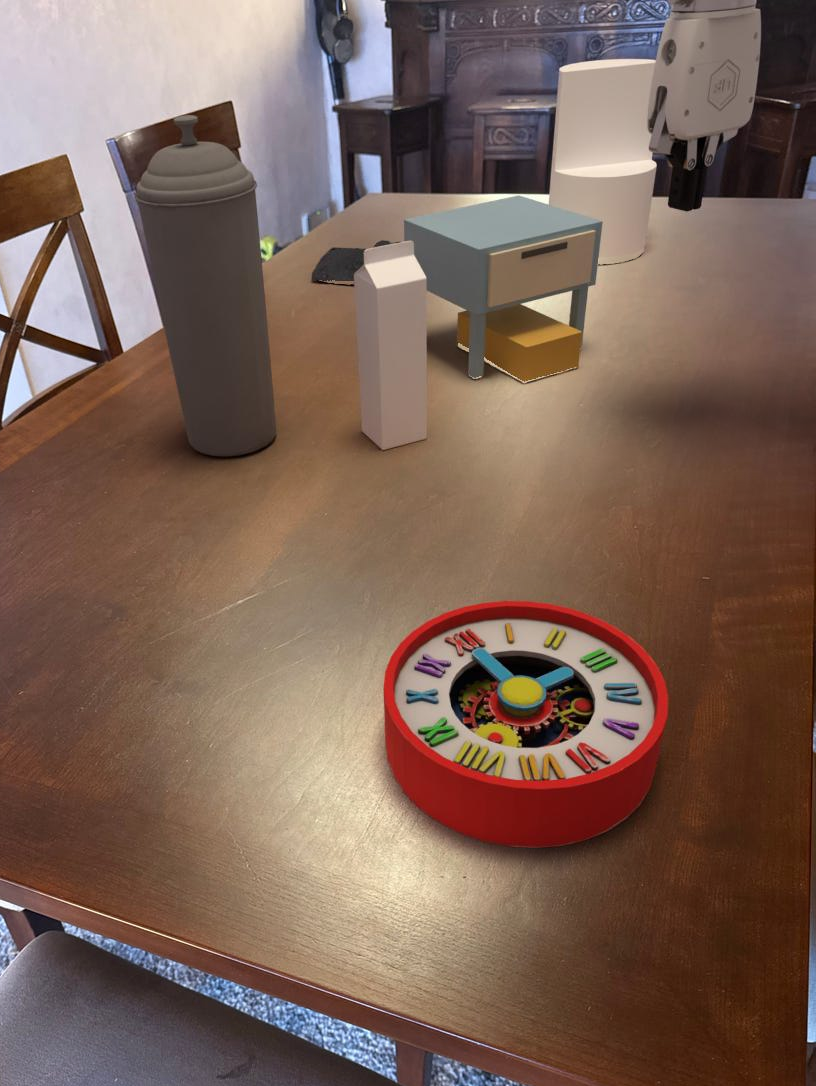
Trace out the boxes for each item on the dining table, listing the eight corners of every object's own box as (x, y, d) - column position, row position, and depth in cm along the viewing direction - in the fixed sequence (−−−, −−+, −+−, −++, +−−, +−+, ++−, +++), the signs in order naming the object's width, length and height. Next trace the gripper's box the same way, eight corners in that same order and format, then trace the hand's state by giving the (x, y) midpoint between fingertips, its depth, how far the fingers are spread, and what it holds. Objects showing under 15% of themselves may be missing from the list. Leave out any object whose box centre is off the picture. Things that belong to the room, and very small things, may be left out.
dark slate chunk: (335, 257, 167) (333, 230, 164) (449, 262, 160) (450, 234, 157) (304, 283, 156) (302, 255, 153) (425, 290, 149) (425, 260, 146)
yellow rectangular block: (578, 368, 121) (582, 331, 117) (523, 384, 118) (526, 347, 115) (508, 333, 132) (510, 299, 129) (456, 347, 129) (457, 312, 126)
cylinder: (530, 243, 166) (543, 65, 148) (619, 232, 168) (641, 55, 150) (566, 270, 153) (584, 79, 135) (661, 258, 154) (691, 67, 137)
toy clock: (490, 836, 54) (334, 656, 68) (486, 894, 57) (339, 712, 71) (733, 714, 60) (545, 573, 74) (716, 773, 64) (539, 628, 78)
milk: (427, 439, 107) (428, 246, 93) (381, 451, 106) (376, 257, 92) (404, 420, 112) (402, 233, 98) (360, 431, 110) (351, 242, 96)
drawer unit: (591, 352, 125) (606, 222, 114) (477, 384, 119) (482, 250, 108) (511, 314, 138) (518, 195, 127) (405, 342, 132) (403, 219, 121)
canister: (211, 474, 104) (153, 134, 82) (165, 436, 112) (101, 119, 90) (303, 441, 109) (272, 112, 87) (253, 407, 117) (212, 100, 95)
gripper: (681, 6, 78) (653, 228, 90) (805, -14, 83) (764, 200, 94) (623, 5, 84) (604, 215, 95) (743, -13, 88) (710, 189, 100)
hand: (683, 207), depth 95 cm, fingers closed
